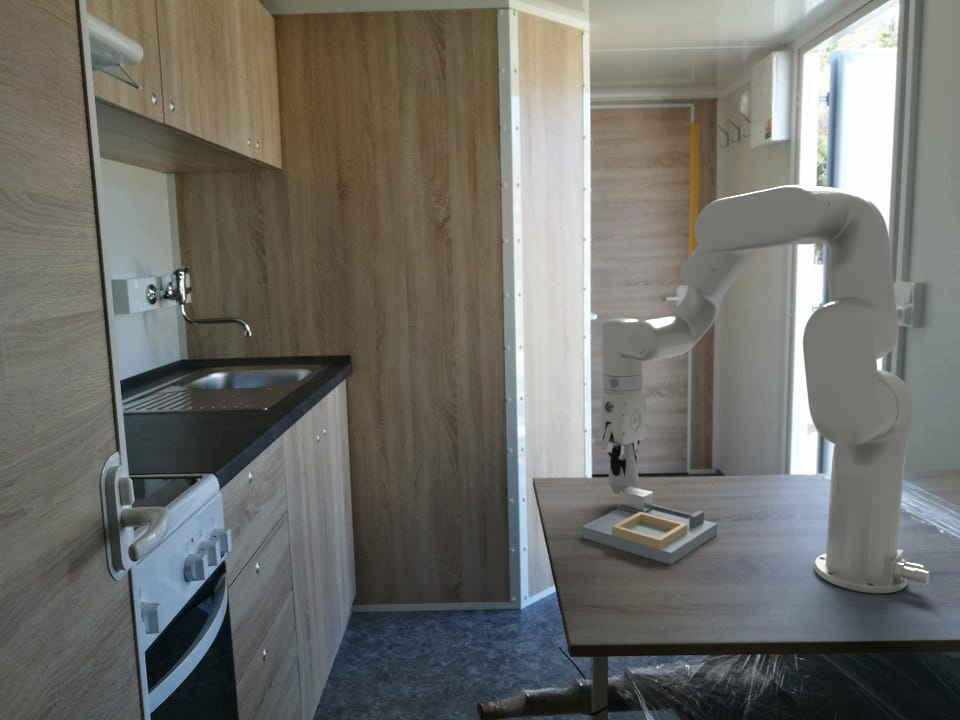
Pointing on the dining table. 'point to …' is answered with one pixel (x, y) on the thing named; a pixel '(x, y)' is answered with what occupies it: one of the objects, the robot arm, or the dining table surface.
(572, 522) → the dining table surface
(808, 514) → the dining table surface
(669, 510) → the base
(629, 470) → the salt shaker
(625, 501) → the cover
